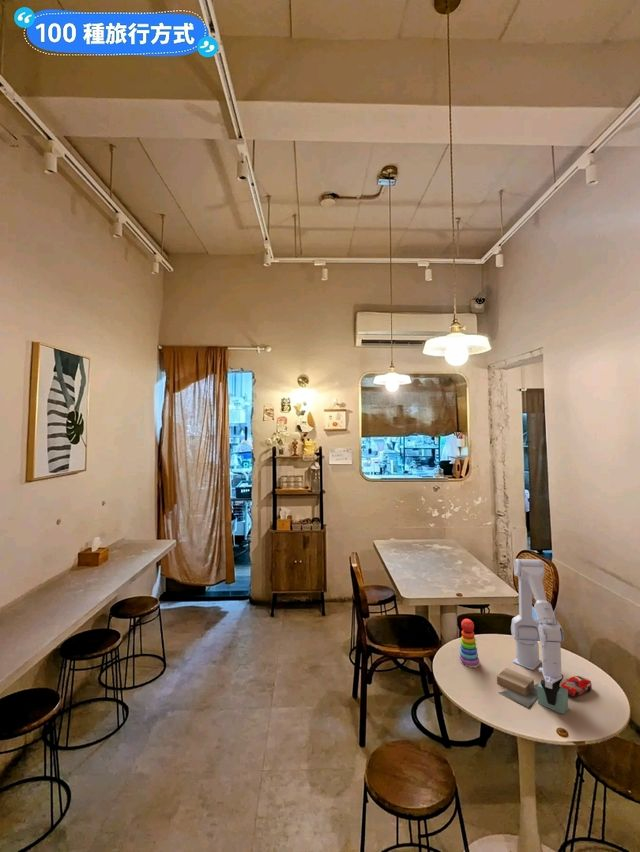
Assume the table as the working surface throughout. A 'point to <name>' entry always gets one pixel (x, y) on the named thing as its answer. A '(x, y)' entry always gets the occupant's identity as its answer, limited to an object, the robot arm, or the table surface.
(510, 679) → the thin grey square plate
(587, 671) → the table surface
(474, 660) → the stacking toy
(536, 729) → the table surface
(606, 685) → the table surface
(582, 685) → the race car
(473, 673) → the table surface
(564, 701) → the teal brick
